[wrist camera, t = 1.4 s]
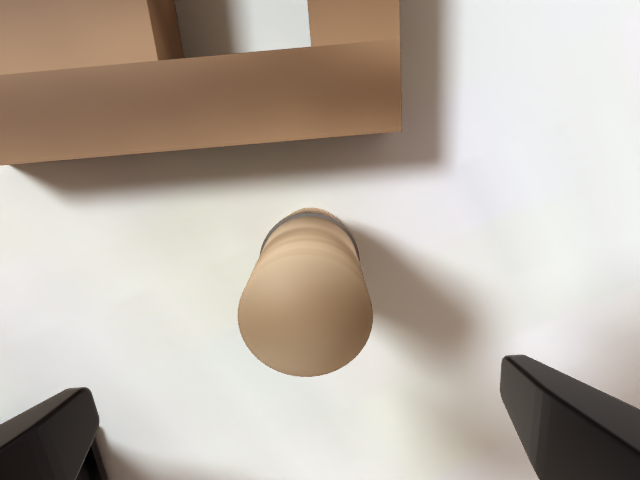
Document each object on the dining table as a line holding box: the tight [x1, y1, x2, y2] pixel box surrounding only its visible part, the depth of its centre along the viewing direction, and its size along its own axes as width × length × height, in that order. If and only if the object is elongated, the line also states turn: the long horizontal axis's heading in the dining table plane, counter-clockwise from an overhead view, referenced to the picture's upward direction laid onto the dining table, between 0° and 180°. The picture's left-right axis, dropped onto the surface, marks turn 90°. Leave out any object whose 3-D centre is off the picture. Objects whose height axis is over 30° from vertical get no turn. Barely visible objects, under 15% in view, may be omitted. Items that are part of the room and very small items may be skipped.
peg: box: [238, 208, 373, 377], centre depth 15 cm, size 4×4×8 cm
